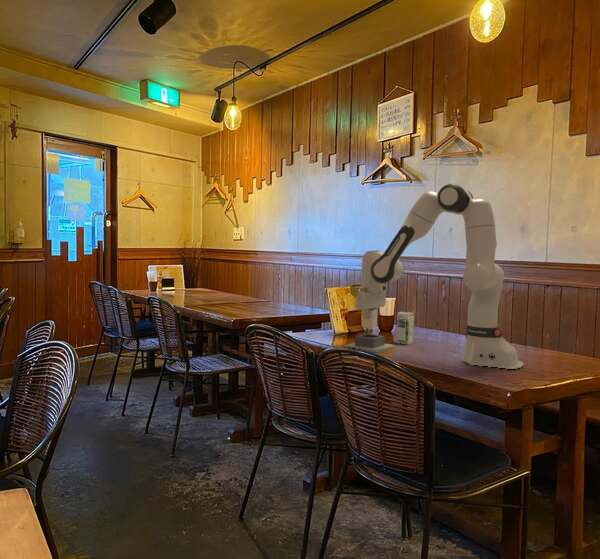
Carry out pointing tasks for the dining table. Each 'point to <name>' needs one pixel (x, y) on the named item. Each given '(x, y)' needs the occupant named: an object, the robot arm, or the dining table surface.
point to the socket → (370, 343)
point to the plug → (370, 319)
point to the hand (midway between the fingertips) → (370, 318)
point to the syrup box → (405, 327)
